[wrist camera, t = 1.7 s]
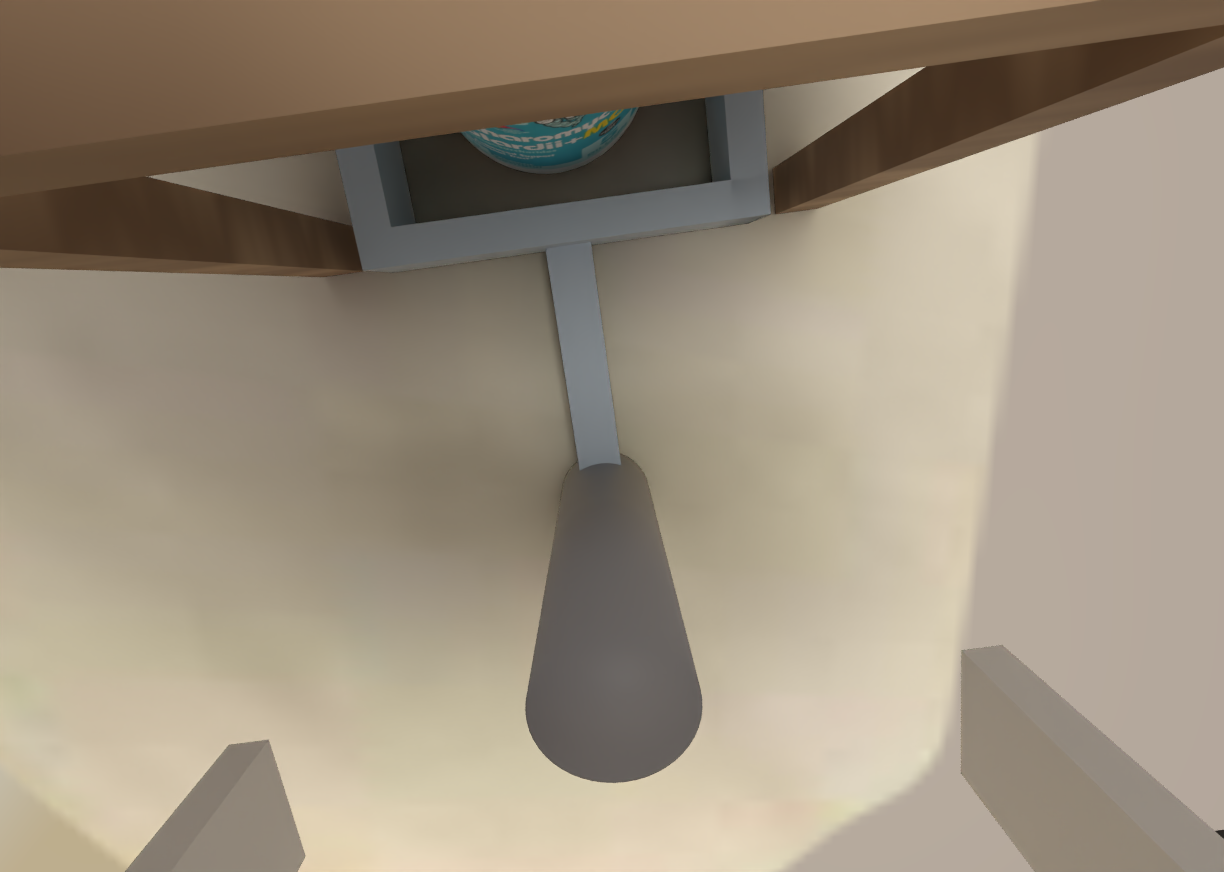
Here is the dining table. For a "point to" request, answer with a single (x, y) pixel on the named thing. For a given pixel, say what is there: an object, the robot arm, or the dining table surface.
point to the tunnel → (504, 97)
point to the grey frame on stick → (589, 446)
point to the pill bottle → (552, 141)
